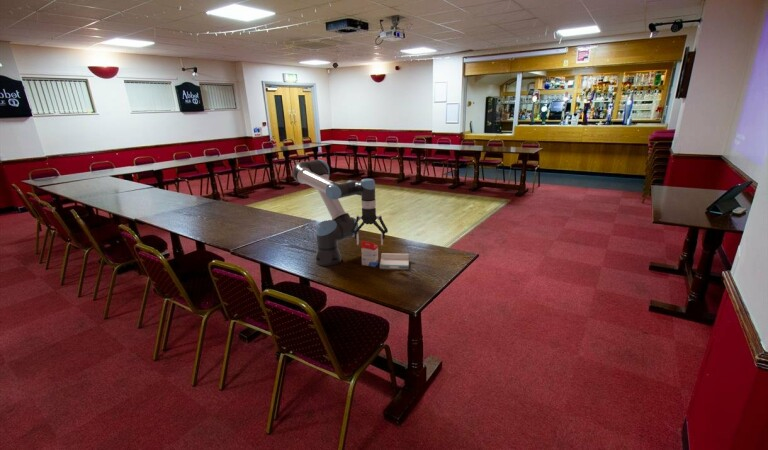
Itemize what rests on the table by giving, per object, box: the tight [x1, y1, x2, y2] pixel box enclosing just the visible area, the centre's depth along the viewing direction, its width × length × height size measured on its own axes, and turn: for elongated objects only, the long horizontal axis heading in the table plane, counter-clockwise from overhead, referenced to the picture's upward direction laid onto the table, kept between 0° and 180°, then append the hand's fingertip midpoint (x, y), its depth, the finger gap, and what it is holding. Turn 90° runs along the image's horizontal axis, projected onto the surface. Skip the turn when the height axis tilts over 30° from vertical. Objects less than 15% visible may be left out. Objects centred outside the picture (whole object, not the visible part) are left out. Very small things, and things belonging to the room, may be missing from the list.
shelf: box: [379, 252, 410, 271], centre depth 205 cm, size 16×12×4 cm
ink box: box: [360, 240, 379, 268], centre depth 205 cm, size 8×5×15 cm, turn 65°
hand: (369, 244), depth 203 cm, fingers open, 13 cm apart
